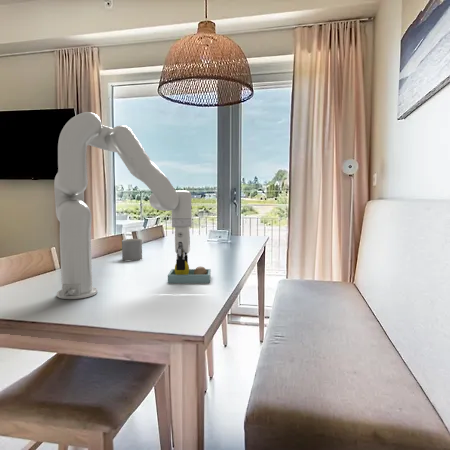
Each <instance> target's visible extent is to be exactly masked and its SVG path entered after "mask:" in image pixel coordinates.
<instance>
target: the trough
mask: <svg viewBox="0 0 450 450" xmlns="http://www.w3.org/2000/svg"><path fill="white" fill-rule="evenodd" d="M195 269H196V268H189V274H188V275H176V274H175V268H172V269H171V270H169V273H168V274H167V283H168V284H210V283H211V276H212V270H211V268H205V269H206V271H207V275H194V270H195Z"/></svg>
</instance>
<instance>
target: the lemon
mask: <svg viewBox="0 0 450 450" xmlns="http://www.w3.org/2000/svg"><path fill="white" fill-rule="evenodd" d="M189 266H190V265H189V263H187V262H186V261H185V270H176V264H175V265H174V269H175V274H176V275H188V274H189V269H190V267H189Z"/></svg>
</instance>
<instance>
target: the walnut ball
mask: <svg viewBox="0 0 450 450" xmlns="http://www.w3.org/2000/svg"><path fill="white" fill-rule="evenodd" d="M194 269H195V270H194V275H207V271H206V269H207V268H205V267H203V266H198V267H196V268H194Z"/></svg>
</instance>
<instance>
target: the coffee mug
mask: <svg viewBox="0 0 450 450" xmlns="http://www.w3.org/2000/svg"><path fill="white" fill-rule="evenodd" d="M121 257H122V259H124V260H137V261H141V260H142V259H143V239H141V238H125V239H122V240H121ZM140 259H141V260H140ZM124 260H123V261H124Z"/></svg>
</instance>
